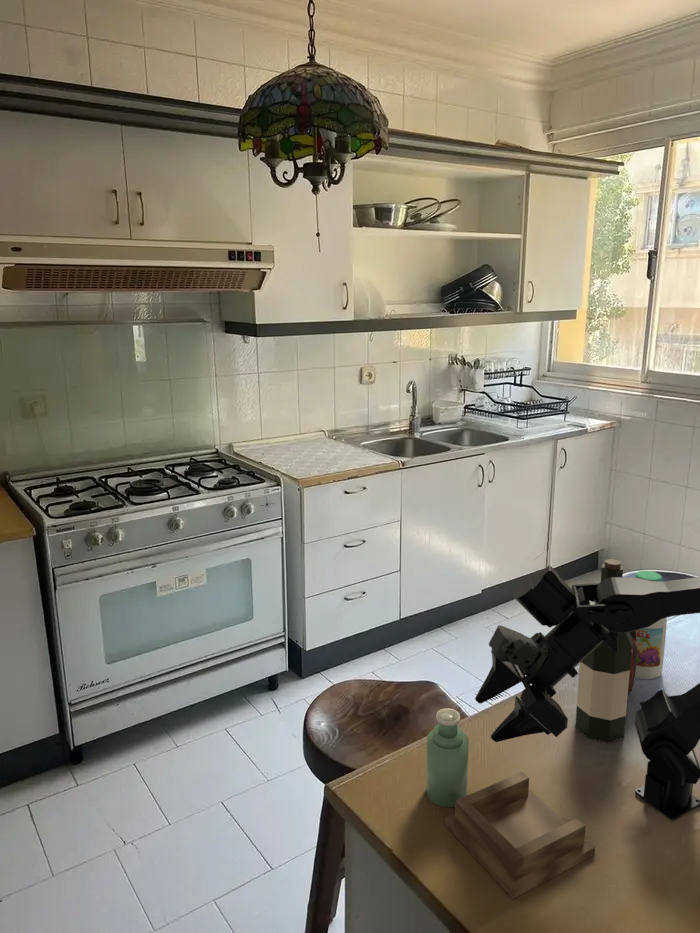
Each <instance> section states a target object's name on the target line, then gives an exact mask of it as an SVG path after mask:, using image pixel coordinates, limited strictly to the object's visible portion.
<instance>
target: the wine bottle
mask: <svg viewBox="0 0 700 933" xmlns="http://www.w3.org/2000/svg"><path fill="white" fill-rule="evenodd" d="M623 573H624V566H623V565H622V561H620V560H618V559H611V558H608V559H605V560H604V563H602V564H601V572H600V582H601V581H603V580H604V579H608V578H613V577H620V578H624V576H623V575H624V574H623ZM632 640H633V638H632V636H631V634H630V632H628V633H618V636H617V645H618V650H617V651H616V652H614V651H612V650H611V649H610V648H609V647H608V646H607V645H606V644H605V643H604V642H602V643H601V644H600V645H599V646H598V647H597V648H596V649H594V650H593V651H592V652H591V653H590V654H589V655H588V656H587V657H586V658H585V659H583V660H582V661H581V662H580V663H579V668H578V669H579V670H578V680H577V681H578V683H577V684H578V685H577V699H576V713H575V714H576V715H575V728H576V729H577V730H578V729H579V730H580V731H581V732H582V733H581V732H580V731H579V730H578V731H579V732H580V733H581V734H583V733H584V734H583V735H584V736H585V735H586V736H585V737H586V738H587V737H588V738H587V739H590V738H591V739H590V740H594V739H596V740H595V741H599V740H600V742H603V741H605V742H604V743H608V742H609V743H612V742H615V741H614V740H616V741H618V740H617V739H619V740H621V739H620V738H622V739H624V738H625V732H626V731H625V730H626V729H625V728H626V719H627V718H626V717H627V709H628V708H627V707H628V706H627V705H628V698H627V697H628V686H629V674H630V663H631V652H632ZM623 737H624V738H623ZM611 741H612V742H611Z"/></svg>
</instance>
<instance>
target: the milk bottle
mask: <svg viewBox="0 0 700 933" xmlns="http://www.w3.org/2000/svg"><path fill="white" fill-rule="evenodd" d="M634 578H639V579H644V580H649V581H658V582H663V577H662V575H661V574H659V573H658V572H656V571H649V570H640V571H637V572H636V573H635V577H634ZM667 618H668V617H667ZM667 618H663V619H661V620H660V621H658V622H656V623H654V624H653V625H651V626H649V627H646V628H642V629H639V630H636V635H637V639H635V640H636V647H637V663H636V671H635V678H634V679H638V680H639V679H640V680H655V679H657V678H659V677H661V675H662V674H663V673H662V672H663V666H664V660H665V658H664V656H665V649H666V638H667V637H666V635H667V625H668V624H667V622H668V619H667Z"/></svg>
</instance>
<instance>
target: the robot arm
mask: <svg viewBox="0 0 700 933" xmlns="http://www.w3.org/2000/svg"><path fill="white" fill-rule="evenodd" d="M512 597H513V599H514V600H515V601H516V602H518V604H519V605H520V606H522V608H524V610H526V611H527V612H528V614H530V616H531V617H533V618H534V619H535V620H536V621H537V622H538V623H539V624H540V625H541V626H543V627H544V626H547V627H548V628H549V629H550V628H552V627H553V628H552V629H551V630H550V631H549V632H547V633H546V634H545V635H544V634H543V633H542V632H541V631H539V632H536V633H534V634H533V635H532V636H531V637H529V636H527V635H524V634H523V633H521V632H519V631H516V630H513V629H511V628H508V627H506V626H503V625H500V624H499V625H497V628H495V630H494V633H493V635H492V636H491V639H490V641H489V642H488V646H489V647H490V648H491V651H490V652H491V660H492V661H491V662H492V665H491V668H490V670H489V672H488V674H487V676H486V678H485V680H484V682H483V684H482V685H481V687H480V689H479V690H478V692H477V694H476V696H475V697H474V699H475V701H476V703H478V704H479V705H482V704H483V703H485V702H487V701H490V700H492V699H494V698H495V697H497V696H499V695H500V694H502V693H504V692H506V691H507V690H510V689H511V688H513V687H515V686H516V685H518V684H520V683H522V685H523V686H524V689H523V690H522V692H521V695H520V698H519V697H518V696H517V695H515V696H514V697H515V698H514V708H513V710H512V711H511V713H509V714H508V716H507V717H506V718H505V719H504V720H503V721H502V722H501V723H500V724H499V725H498V726H497V727H496V728H495V730H494V731H493V732H492V733H491V735H490V738H491V740H493V742H495V743H499V742H503V741H508V740H511V739H514V738H515V739H516V738H520V737H524V736H529V735H535V734H541V733H544V734H546V735H548V736H549V735H551V734H552V735H553V736H554V737H555V738H556V737H558V736H560V735H561V733H563V732H564V731H565V730H566V729H568V721H569V720H568V717H567V715H566V714H565V712H564V710H563V709H562V707H561V706H560V703H559V702H557V701H556V700H555V699H553V697H554V696H555V695H556V694H557V691H556V690H555V688H554V687H555V686H556V685H557V684H558V683H559V682H560V681H561V680H562V679H564V678H565V677H566V676H567V675H569V676H570V677H571V678H572V679H573V678H575V676H577V675H579V671H577V670H576V667H577V666H578V665H580V662H581V661H582V660H583V659H585V658H586V657H587V656H588V655H589V654H590V653H591V652H592V651H593V650H594V649H596V648H597V647H598V646H599V645H600V644H601V643H602V642H604V643H605V644H606V645H607V646H608V647H609V648H610V649H611V650H612V651H614V652H616V651H617V650H618V645H617V636H618V633H628V632H631V631H635V630H639V629H642V628H646V627H649V626H651V625H653V624H654V623H656V622H658V621H660V620H661V619H663V618H670V617H676V616H685V615H692V614H693V615H694V614H700V576H697V577H696V576H695V577H690V578H689V577H688V578H682V579H681V578H680V579H673V580H666V581H662V582H658V581H649V580H644V579H639V578H635V577H622V578H620V577H613V578H608V579H604V580H603V581H601V580H600V582H596V583H595V582H593V583H580V584H579V583H578V584H576V583H575V584H572V585H571V586H570V585H568V583H566V582H565V580H564V579H563V578H562V577H561V576H560V575H559V574H558V572H557V571H556V570H555V568H554V567H552V566H551V565H547V566H546V567H545V568H544V569H538V570H536V571H534V572H533V573H529V574H528V575H527V576H525V577H524V578H523V579H522V580H521V581H520V582H519V584H518V585H517V587H516V588H515V589H514V591H513V593H512ZM591 602H593V603H594V604H591ZM639 706H640V708H639V709H638V710H637V711H636V712H635V714H634V715H635V716H634V725H635V729H636V732H637V736H638V740H639V743H640V748H641V750H642V754H643V755H644V757H646V758H647V759H648V760H649V761H648V762H647V766H646V774H645V777H644V778H645V779H644V784H643V785H641V786H639V787H637V788H636V789H635V792H634V793H635V794H636V795H637V796H638V797H640V798H641V799H642V800H643V801H645V802H646V803H648V804H649V805H650V806H651V807H653V808H654V809H656V810H657V811H658V812H660V813H661V814H663V815H664V816H665V817H667V818H668V819H669V820H672V821H675V820H677V819H679V818H681V817H682V816H685V815H686V814H688V813H690V812H692V811H693V810H695V809H697V808H699V807H700V799H699V798H698V797H697V796H695V795H694V794H693V789H694V785H696V784H697V783H698V781H699V780H700V763H699V760H698V757H697V756H696V753H695V750H694V749H695V748H696V747H697V745H698V743H699V741H700V682H699V683H697V684H696V685H695V686H693V687H692V688H690V689H689V690H687V691H685V693H682V694H677V695H668V694H667V693H666V691H665V690H664V689H660V690H657V692H656V693H655V694H653V696H651V697H650V698H649V699H646V700H644V701H640V702H639Z"/></svg>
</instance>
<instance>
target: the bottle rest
mask: <svg viewBox="0 0 700 933" xmlns="http://www.w3.org/2000/svg"><path fill="white" fill-rule="evenodd" d="M529 786H530V777H529V776H527V775H526V774H525V772H523V771H521V772H518V773H516V774H514V775H511V776H509V777H507V778H505V779H502V780H500V781H498V782H494V783H493V784H490V785H489V786H486V787H483V788H481V789H479V790H477V791H475V792H473V793H470V794H467V796H465V797H463V798H461V799H459V800H456V801H455V807H454V813H452V814H450V815H447V816H445V817H444V826H445V827H446V828H447V829H448V830H449V831H450V832H451V834H452V835H453V836H454V837H455V836H456V837H455V838H457V840H458V841H459V842H460V843H461V844H462V846H464V848H465V847H466V848H465V849H466V850H467V851H468V852H469V853H470V854H471V855H472V856H473V857H474V859H476V861H477V862H478V863H479V864H480V865H481V866H482V867H483V869H485V871H486V870H487V871H488V872H489V873H490V874H489V873H488V872H487V871H486V872H487V873H488V874H489V875H490V876H491V877H492V878H493V879H494V881H495V882H496V881H497V882H498V883H499V884H498V883H497V882H496V883H497V884H498V885H499V886H500V887H501V888H502V889H503V890H504V891H505V892H507V893H508V894H507V895H508V896H509V897H510V898H511V899H512V900H514V899H515V898H517V897H519V895H520V896H521V895H523V894H525V893H526V892H529V891H530V890H532V889H534V888H536V887H537V886H540V885H541V884H543V883H545V882H547V881H549V880H551V879H552V878H554V877H556V876H558V875H560V874H561V873H564V872H565V871H567V870H569V869H571V868H572V867H575V866H576V865H578V864H580V863H582V862H583V861H585V860H587V859H589V858H590V857H592V856H595V854H596V846H595V845H594V844H593V843H591V841H589V840H588V839H587V838H586V837H585V835H586V825H585V823H583V822H582V821H581V820H580V819H579V818H577V817H576V818H574V819H572V820H570V821H568V822H567V821H566V820H565V819H564V818H562V817H561V815H559V814H558V813H557V812H556V811H555V810H554V809H552V808H551V807H550V806H549V805H548V804H547V803H546V802H544V801H543V800H542V798H540V797H538V796H537V795H536V794H535V793H534V792H533V791H532V790H531V789H530V787H529Z"/></svg>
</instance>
